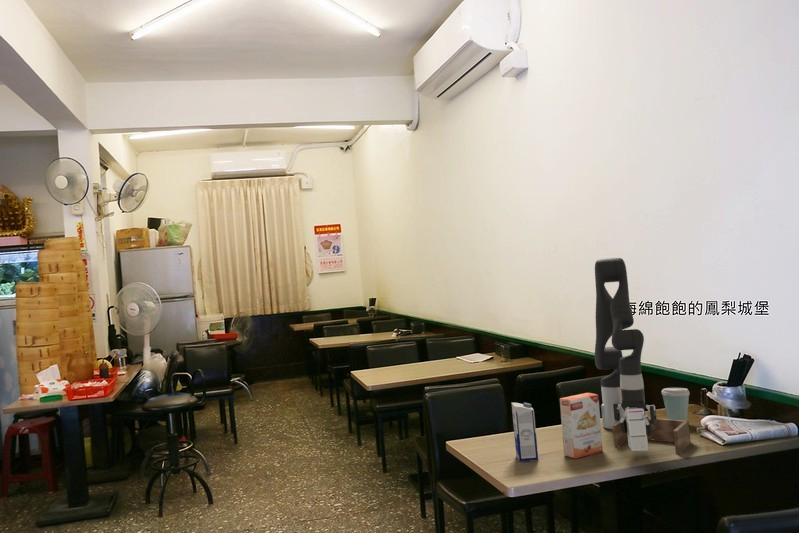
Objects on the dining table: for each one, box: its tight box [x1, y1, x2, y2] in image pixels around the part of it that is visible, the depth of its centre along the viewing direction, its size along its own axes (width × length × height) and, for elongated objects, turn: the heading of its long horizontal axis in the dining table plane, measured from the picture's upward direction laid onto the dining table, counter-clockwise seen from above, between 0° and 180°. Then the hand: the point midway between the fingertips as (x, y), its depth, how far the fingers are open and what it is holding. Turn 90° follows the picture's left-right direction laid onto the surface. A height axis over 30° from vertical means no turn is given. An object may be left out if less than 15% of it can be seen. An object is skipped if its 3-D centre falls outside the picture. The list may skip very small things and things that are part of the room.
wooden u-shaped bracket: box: [612, 417, 691, 455], centre depth 214 cm, size 22×15×8 cm
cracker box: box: [559, 392, 604, 460], centre depth 211 cm, size 14×6×21 cm, turn 117°
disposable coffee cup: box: [661, 387, 691, 421], centre depth 238 cm, size 11×11×15 cm
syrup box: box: [625, 408, 649, 452], centre depth 202 cm, size 6×6×14 cm
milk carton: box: [511, 402, 539, 462], centre depth 211 cm, size 7×7×20 cm
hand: (636, 433), depth 202 cm, fingers closed on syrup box, 7 cm apart
